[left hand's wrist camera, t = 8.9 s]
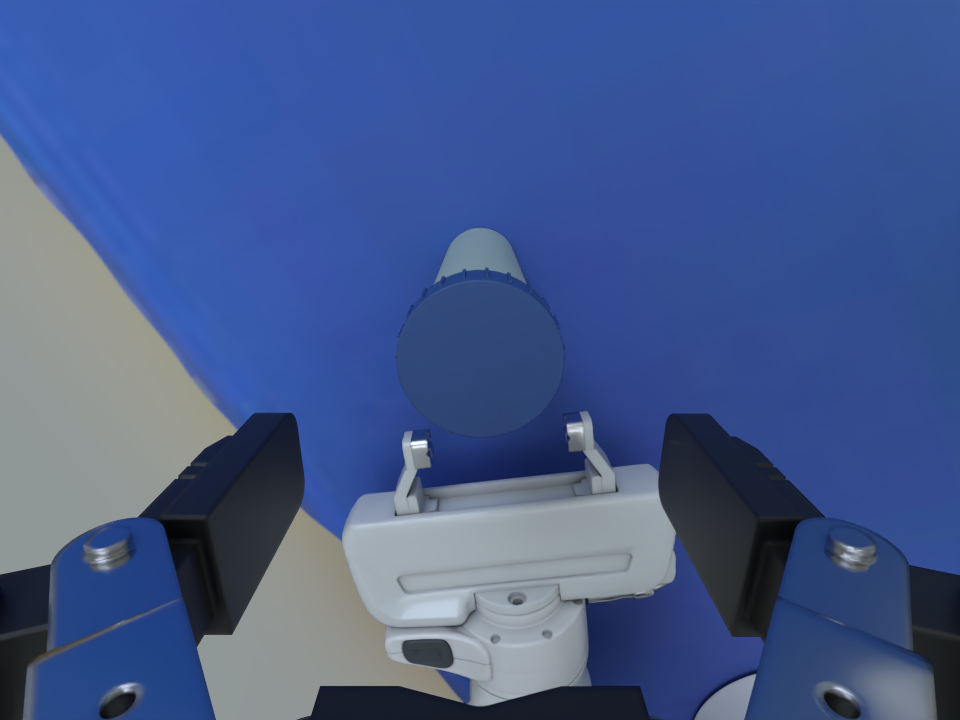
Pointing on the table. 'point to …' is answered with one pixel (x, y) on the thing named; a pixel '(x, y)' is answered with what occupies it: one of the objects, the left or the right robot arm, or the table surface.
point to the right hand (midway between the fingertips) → (495, 425)
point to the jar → (480, 254)
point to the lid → (480, 354)
